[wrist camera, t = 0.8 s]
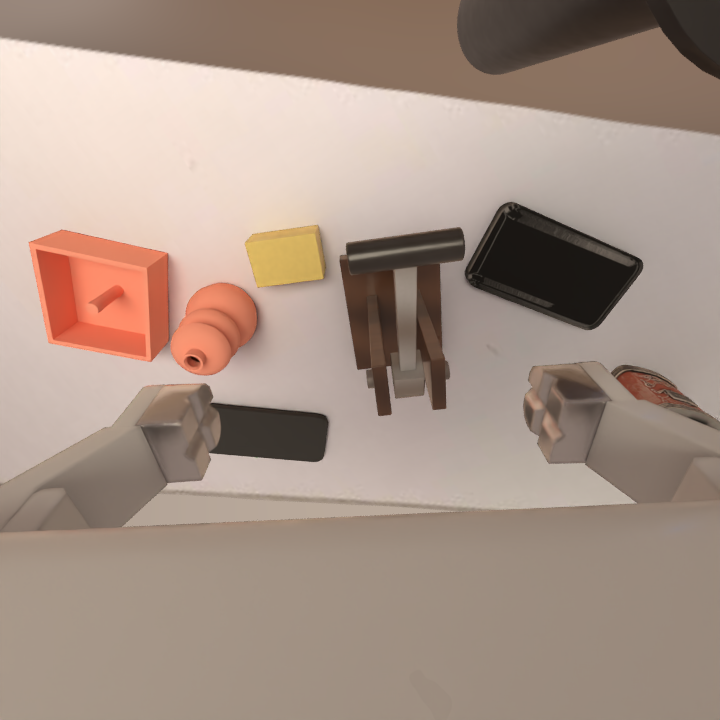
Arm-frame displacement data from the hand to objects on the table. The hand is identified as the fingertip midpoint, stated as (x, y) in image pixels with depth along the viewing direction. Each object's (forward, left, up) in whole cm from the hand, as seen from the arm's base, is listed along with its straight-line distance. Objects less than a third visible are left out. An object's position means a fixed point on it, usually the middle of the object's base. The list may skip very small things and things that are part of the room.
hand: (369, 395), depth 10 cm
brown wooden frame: (+11, +2, -28) cm, 30 cm away
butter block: (+4, -7, -28) cm, 29 cm away
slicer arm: (+5, +2, -15) cm, 16 cm away
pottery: (+7, -20, -28) cm, 35 cm away
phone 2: (+9, +17, -28) cm, 34 cm away
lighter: (+24, +29, -28) cm, 47 cm away
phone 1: (+25, -15, -28) cm, 40 cm away
